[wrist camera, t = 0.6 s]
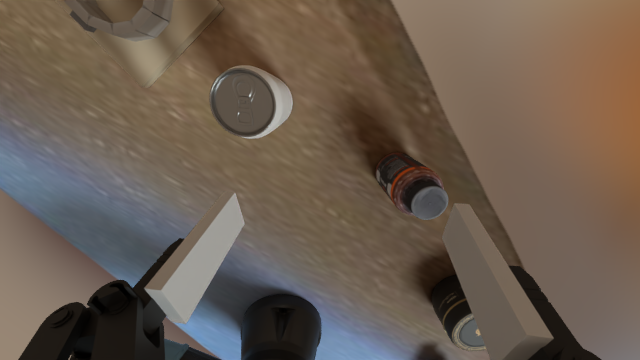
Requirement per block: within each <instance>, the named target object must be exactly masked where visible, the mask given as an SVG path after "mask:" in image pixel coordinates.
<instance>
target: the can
mask: <svg viewBox="0 0 640 360" xmlns="http://www.w3.org/2000/svg"><path fill="white" fill-rule="evenodd" d="M292 105H293V100H292V95H291V92H290V90H289V88H288V87H287V86H286V84H285V83H284V82H283V81H281V80H280V79H279V78H277V77H275V76H273V75H271V74H270V73H268V72H266V71H264V70H262V69H259V68H257V67H254V66H249V65H239V66H235V67H232V68H230V69H228V70H226V71H225V72H223V73H222V74H220V75H219V76H218V77H217V78H216V80H215V81H214V83H213V85H212V87H211V90H210V107H211V111H212V113H213V115H214V117H215V119H216V120H217V122H218V123H219V124H220V125H221V126H222V127H223V128H224V129H225V130H226V131H228V132H230V133H232V134H234V135H237V136H240V137H243V138H259V137H263V136H265V135H267V134H269V133H270V132H272V131H273V130H275V129H276V128H277V127H278V126H280V125H281V124H282V123H283V122H284V121H285V120H286V119H287V118H288V117H289V115H290V113H291V110H292Z"/></svg>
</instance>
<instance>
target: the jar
mask: <svg viewBox="0 0 640 360" xmlns="http://www.w3.org/2000/svg"><path fill="white" fill-rule="evenodd" d="M432 304H433V308H434V310H435V312H436V314H437V316H438V318H439V320H440V321H441V323H442V325H443V328H444V330H445V332H446V333H447V334H448V336H449V338H450V339H451V341H452V342H453V343H454V344H455V345H456V346H457V347H459V348H461V349H463V350H467V351H482V350H486V346H485V344H484V341H483V339H482V336H481V334H480V331H479V329H478V326H477V324H476V321H475V319H474V316H473V314H472V311H471V309H470V306H469V304H468V301H467V299H466V296H465V294H464V291H463V289H462V286H461V284H460V281H459V279H458V276H457V275H455V276H451V277H448V278H446V279H444V280H442V281H441V282H439V283H438V284H437V285H436V287H435V288H434V290H433V293H432Z"/></svg>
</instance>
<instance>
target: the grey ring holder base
mask: <svg viewBox="0 0 640 360" xmlns="http://www.w3.org/2000/svg"><path fill="white" fill-rule="evenodd" d="M55 1H56V2H57V3H58V4H59V5H60V6H61V7H62V8H63V9H64V10H65V11H66V12H67V13H68V14H69V15H70V16H71V17H72V18H73V19H74V20H75V21H76V22H77V23H78V24H79V25H80V26H81V27H82V28H83V29H84V30H85V31H86V32H87V33H88V34H89V35H90V36H91V37H92V38H93V39H94V40H95V41H96V42H97V43H98V44H99V45H100V46H101V47H102V48H103V49H104V50H105V51H106V52H107V53H108V54H109V55H110V56H111V57H112V58H113V59H114V60H115V61H116V62H117V63H118V64H119V65H120V66H121V67H122V68H123V69H124V70H125V71H126V72H127V73H128V74H129V75H130V76H131V77H132V78H133V79H134V80H135V81H136V82H137V83H138V84H139V85H140V86H141V87H150V86H151V85H152V84H153V83H154V82H155V81H156V80H157V79H158V78H159V77H160V76H161V75H162V74H163V73H164V71H165V70H166V69H167V68H168V67H169V66H170V65H171V64H172V63H173V62H174V61H175V60H176V59H177V58H178V57H179V56H180V55H181V54H182V52H183V51H184V50H185V49H186V48H187V47H188V46H189V45H190V44H191V43H192V42H193V41H194V40H195V39H196V38H197V37H198V36H199V35H200V34H201V32H202V31H203V30H204V29H205V28H206V27H207V26H208V25H209V24H210V23H211V22H212V21H213V20H214V19H215V18H216V17H217V16H218V15H219V13H220V12H221V11H222V10H223V9H224V7H223V6H222V5H221V4H220V2H219V1H218V0H55Z"/></svg>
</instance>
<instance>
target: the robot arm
mask: <svg viewBox="0 0 640 360" xmlns="http://www.w3.org/2000/svg"><path fill="white" fill-rule="evenodd" d="M244 224H245V223H244V220H243V216H242V213H241V210H240V207H239V204H238V200H237V197H236V194H235V192H223V193H222V195H221V196H220V197H219V198H218V199H217V201H216V202H215V203H214V204H213V205H212V207H211V208H210V209H209V210H208V212H207V213H206V214H205V215H204V216H203V218H202V219H201V220H200V221H199V222H198V224H197V225H196V226H195V227H194V228H193V230H192V231H191V232H190V233H189V235H188V236H187V237H186V238H185V239H181V238H180V239H178V240H177V241H175V242H174V243H173V244H171V245H170V246H169V247H168V248H167V249H166V251H165V252H164V253H163V255H162V256H160V258H159V259H158V260H157V262H156V263H154V264H153V266H152V267H151V268H150V269H149V270H148V271H147V272H146V274H145V275H144V276H143V277H142V278H141V279H140V281H139V282H138V283H137V284H136V285H135V286H134V287H133V288H132V287H131V286H130V285H129V284H128V283H127V282H126V281H124V280H116V281H113V282H110V283H108V284H106V285H104V286H102V287H101V288H100V289H99V290H97V291H96V292H95V293H94V294H93V295H92V296H91V297H90V299H89V301H88V303H87V305H88V306H89V308H86V307H85V306H84V305H83V304H82V303H79V302H74V303H69V304H67V305H64V306H62V307H61V308H59V309H58V310H56V311H54V312H53V313H52V314H51V315H50V316H48V317H47V318H46V320H45V321H44V322H43V323H42V324H41V326H40V327H39V329H38V331H37V332H36V334H35V335H34V337H33V338H32V340H31V341H30V343H29V344H28V346H27V347H26V349H25V350H24V352H23V353H22V355H21V356H20V358H19V359H18V360H68V358H69V357H70V355H72V356H71V358H70V360H221V359H219V358H216V357H214V356H211V355H209V354H206V353H204V352H201V351H199V350H196V349H193V348H191V347H189V345H188V344H179V343H177V342H173V341H170V340H167V339H164V326H163V323H162V321H163V320H164V318H165V317H166V316H167V317H168V318H169V320H170V321H171V322H176V323H183V324H186V323H187V322H188V320H189V318H190V316H191V315H192V313H193V311H194V310H195V308H196V306H197V304H198V303H199V301H200V299H201V298H202V296H203V294H204V292H205V291H206V289H207V287H208V286H209V284H210V282H211V280H212V279H213V277H214V275H215V274H216V272H217V270H218V268H219V267H220V265H221V263H222V262H223V260H224V258H225V256H226V255H227V253H228V251H229V250H230V248H231V246H232V244H233V243H234V241H235V239H236V238H237V236H238V234H239V232H240V231H241V229H242V227H243V226H244ZM442 239H443V242H444V244H445V246H446V249H447V251H448V254H449V256H450V259H451V261H452V264H453V266H454V269H455V271H456V274H457V276H458V279H459V281H460V284H461V286H462V289H463V291H464V294H465V296H466V299H467V301H468V304H469V306H470V309H471V311H472V314H473V316H474V319H475V321H476V324H477V326H478V329H479V331H480V334H481V336H482V339H483V341H484V344H485V346H486V349H487V351H488V354H489V356H490V359H491V360H601V359H600V358H598V357H597V356H596V355H594V354H593V353H591V352H589V351H587V350H585V349H583V348H582V347H581V346H580V344H579V343H578V342H577V341H576V339H575V338H574V336H573V335H572V333H571V332H570V330H569V329H568V328H567V326H566V325H565V323H564V322H563V320H562V319H561V317H560V316H559V315H558V313H557V312H556V310H555V309H554V308H553V306H552V305H551V303H549V302H548V299H547V298H546V296H545V295H544V293H543V292H541V289H540V288H539V286H538V285H537V283H536V282H535V280H534V279H533V278H532V277H531V276H530V275H529V274H528V273H527V272H526V271H524V270H523V269H522V268H521V267H520V266H508V265H507V263H506V262H505V260H504V259H503V257H502V255H501V254H500V252H499V251H498V249H497V248H496V246H495V244H494V243H493V241H492V240H491V238H490V237H489V235H488V233H487V232H486V230H485V229H484V227H483V225H482V224H481V222H480V221H479V219H478V218H477V216H476V214H475V213H474V211H473V210H472V208H471V206H470V205H469V204H457V203H454V205H453V208H452V211H451V214H450V217H449V219H448V222H447V225H446V228H445V230H444V233H443V236H442ZM320 339H321V318H320V315H319V313H318V311H317V310H316V309H315V308H314V306H312V305H311V304H310V303H309V302H307V301H305V300H303V299H301V298H299V297H295V296H291V295H272V296H268V297H265V298H262V299H260V300H258V301H256V302H255V303H253V304H252V305H251V306H250V307H249V308H248V310H247V312H246V314H245V316H244V319H243V323H242V326H241V340H242V341H241V360H315V356H316V351H317V347H318V345H319V343H320Z"/></svg>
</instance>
